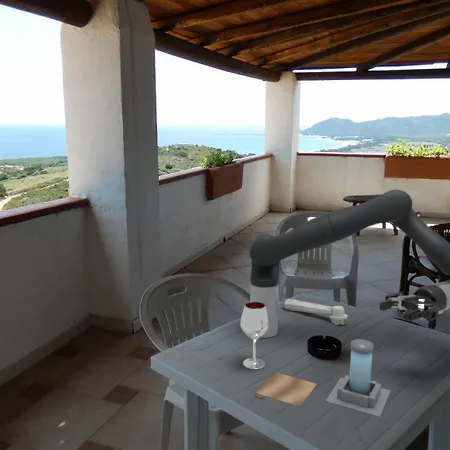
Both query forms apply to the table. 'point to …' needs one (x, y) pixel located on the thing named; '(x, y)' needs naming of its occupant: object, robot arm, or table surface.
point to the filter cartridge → (360, 366)
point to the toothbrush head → (318, 310)
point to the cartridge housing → (359, 397)
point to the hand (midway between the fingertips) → (393, 312)
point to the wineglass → (254, 329)
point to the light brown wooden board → (286, 389)
